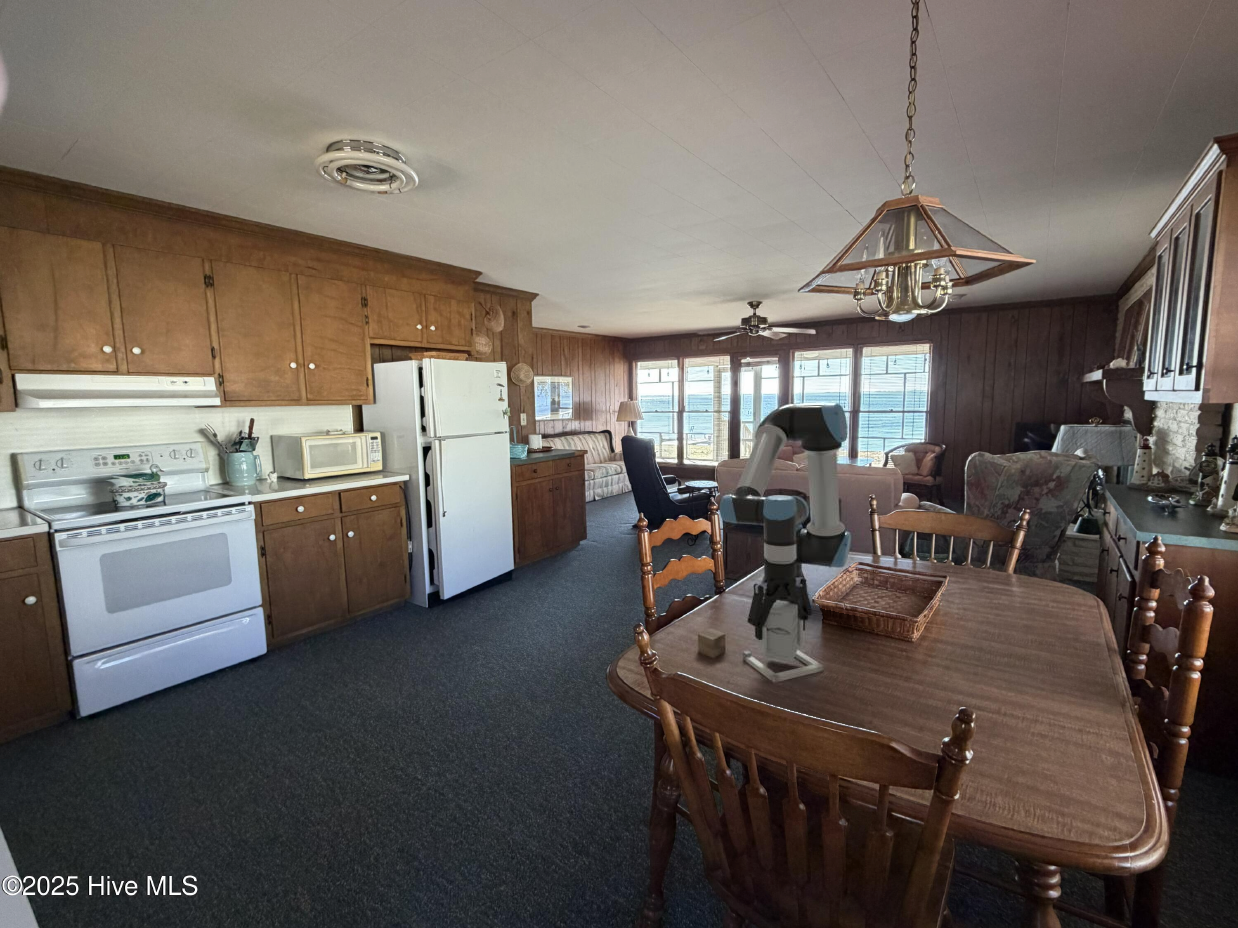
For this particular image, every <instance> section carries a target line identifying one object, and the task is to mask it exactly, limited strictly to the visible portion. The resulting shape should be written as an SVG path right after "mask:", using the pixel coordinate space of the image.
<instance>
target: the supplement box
mask: <svg viewBox="0 0 1238 928" xmlns="http://www.w3.org/2000/svg"><path fill="white" fill-rule="evenodd" d="M764 626H765V627H767V653H766V654H763V653H762V657H763V658H770V659H774V660H775V659H776V660H780V661H786V662H790V663H793V662H794V660H795V658H796V657H795V655H796V652H797V650H798V644H797V643H798V605H795V604H793V603H791V602H789V601H785V600H779V599H777V601H776V602H775V603H774V604H773V606H772V609H770V613H769V615H768V617H767V620H766V622H765V624H764Z"/></svg>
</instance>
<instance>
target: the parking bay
mask: <svg viewBox="0 0 1238 928" xmlns="http://www.w3.org/2000/svg"><path fill="white" fill-rule="evenodd" d="M794 658H795V659H797V660H799V661H800V662H801V663H803V664H805V665H806V666H803V667H799V668H794V669H790V670H785V671H780V672H774V671H773V670H772V669H770V668H769V667H767V666H766V665H764V664H763V663H762V662H761V661H759V660H758V659H756V658H755V657H754V656H752V652H751V651H750V650H743V651H742V660H743V661H745V662H746V663H747V664H749V666H751V667H752V668H754V669H755V670H756V671H758V672H759V673H761V674H762V675H763V676H764V677H766V678H767V679H768V680H770V681H771V682H773V683H774V684H775V683H778V682H782V681H786V680H790V679H795V678H799V677H803V676H806V675H807V676H808V675H810V674H811V675H812V674H816V673H819V672H823V671H824V665H823V664H821V663H819V662H817V661H816V660H814V659H813V658H811V657H809V656H808V655H807V654H805V653H803V652H801V650H799V649H797V652H796V655H795V657H794Z"/></svg>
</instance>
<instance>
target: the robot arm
mask: <svg viewBox="0 0 1238 928" xmlns="http://www.w3.org/2000/svg"><path fill="white" fill-rule="evenodd" d="M847 422H848V421H847V417H846V413H845V410H844V408H843V406H842V405H841V404H839V403H837V402H825V401H824V402H811V403H809V402H808V403H789V404H783V405H781V406H779V407H777V408H776V409H773V410H772V411H771V412H770V413H768V415H766V416H765V417H764V418H763V420H761V422H760V424H759V425H757V429H756V431H755V434H754V438H755V443H754V445H753V447H752V448H751V449H752V450H751V452H750V455H749V457H748V459H747V462H746V465H745V466H744V469H743V471H742V474H741V476H740V479H739V481H738V484H737V486H736V489H735V491H734V493H733V494H732V493H729V494H725V495H723V496H722V497H721V499H720V503H719V514H720V517H721V519H722V520H723V521H724V522H727V523H732V524H741V525H743V524H745V525H759V526H763V557H764V561H763V573H764V574H763V578H762V579H761V580H762V581H761V582H760V584H759V583H756V582H755V583H754V584H753V595H752V599H751V602H750V603H751V604H750V608H749V612H748V617H747V623H748V624H749V625H751V626H752V627H754V637H755V639H756V640H757V651H759V652H760V653H762V655H763V654H766V653H767V627H765V626H764V624H765V622H766V620H767V617H768V615H769V613H770V609H772V606H773V604H774V603H775V602H776V601H777V600H779V599H787V600H788V602H791V603H793V604H795V605H798V643H797V646H800V647H802V646H804V632H805V630H806V621H808V620H809V616H810V617H811V616H812V615H813V609H812V606H811V601H810V599H809V598H810V597H809V594H808V583H807V579H806V578H805V574H804V573H803V567H802V566H803V565H811V566H819V567H828V568H829V569H830V568H839V569H840V568H844V567H845V566H846V564H847V561H848V558H849V554H850V547H851V542H852V541H851V540H852V535H851V532H849V531H846V527H845V525H844V523H842V522H841V521H840V504H839V502H840V501H839V500H840V499H839V498H840V497H839V478H838V477H839V476H838V475H839V474H838V473H839V472H838V454H837V453H838V451H839V450H840V449H841V448H842V447H843V445H842V444H843V443H844V442H846V441H847V439H848V423H847ZM789 442H795V443H796V442H799V443H800V444H801V450H802V451H804V452H805V453H806V457H807V458H806V459H807V461H806V462H807V474H808V475H807V476H808V491H809V495H808V496H809V504H808V502H807V501H806V500H805V499H803V497H800V496H797V495H783V494H781V495H779V494H775V495H769V496H764V494H765V491H766V489H767V485H768V483H769V481H770V478H771V475H772V473H773V470H774V467H775V464H776V461H777V459H778V456H779V453H780V451H781V449H783V448H784V447H785V446H786V444H787V443H789ZM809 514H810V522H809V523H807V525H806V528H803V525H802V524H804V522H805V521H806V520H807V518H808V516H809Z"/></svg>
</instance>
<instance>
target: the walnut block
mask: <svg viewBox="0 0 1238 928" xmlns="http://www.w3.org/2000/svg"><path fill="white" fill-rule="evenodd" d="M697 649H698V653H701V654H703V655H705V656H708V657H710V658H712V659H714V658H716V657H718V656H720V655H721V654H725V653H726V633H724V632H721V631H719V630H716V629H713V628H708V629H706V630H703V631H701V632H700V633H698V634H697Z"/></svg>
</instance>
